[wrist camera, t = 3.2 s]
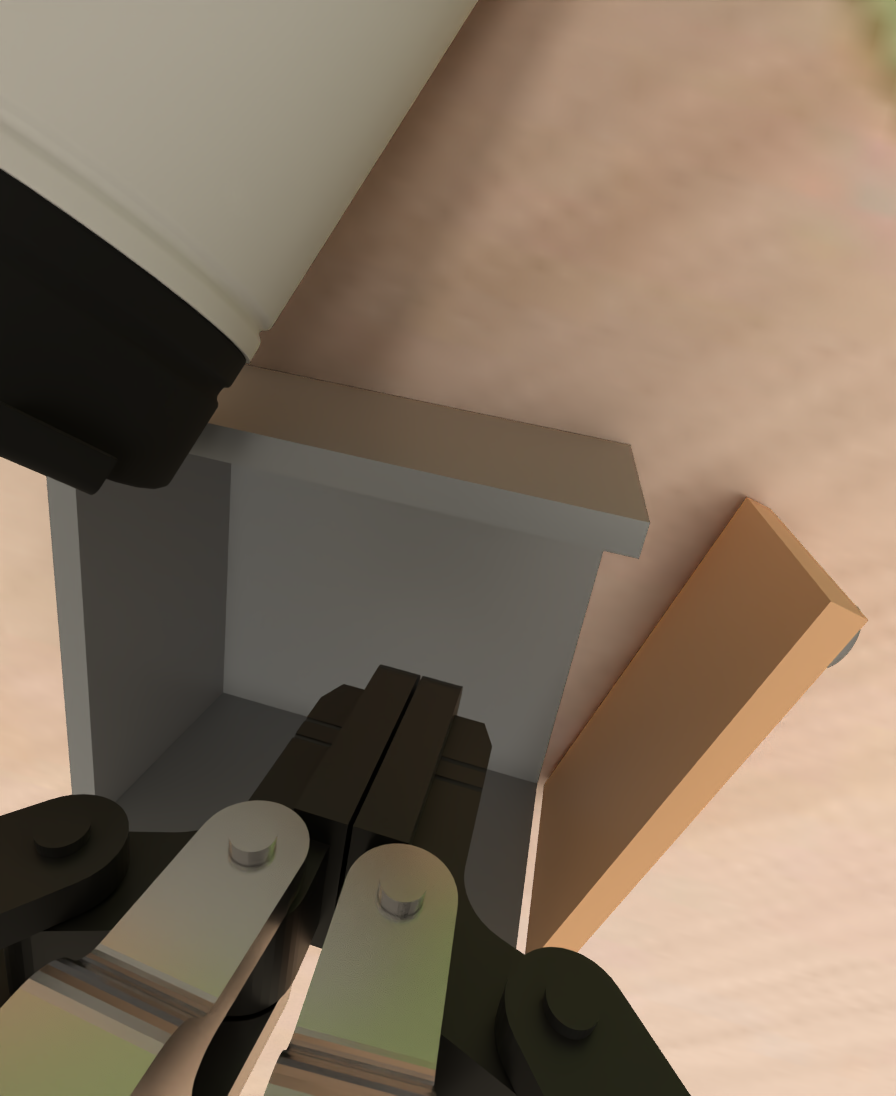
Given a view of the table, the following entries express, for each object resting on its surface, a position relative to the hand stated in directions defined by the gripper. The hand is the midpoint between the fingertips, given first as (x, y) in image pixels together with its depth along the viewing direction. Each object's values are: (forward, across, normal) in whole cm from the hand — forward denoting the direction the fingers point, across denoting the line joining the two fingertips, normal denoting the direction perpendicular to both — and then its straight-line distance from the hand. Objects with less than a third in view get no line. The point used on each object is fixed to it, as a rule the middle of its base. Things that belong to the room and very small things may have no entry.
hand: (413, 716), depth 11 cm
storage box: (+12, +3, +4) cm, 13 cm away
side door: (+11, -7, +4) cm, 13 cm away
